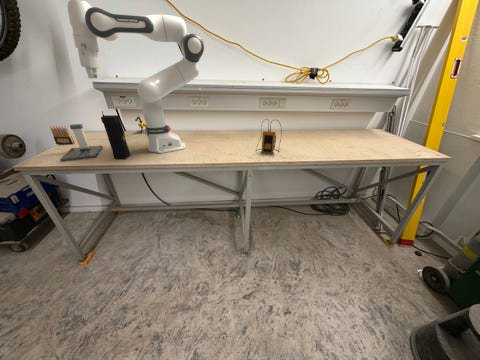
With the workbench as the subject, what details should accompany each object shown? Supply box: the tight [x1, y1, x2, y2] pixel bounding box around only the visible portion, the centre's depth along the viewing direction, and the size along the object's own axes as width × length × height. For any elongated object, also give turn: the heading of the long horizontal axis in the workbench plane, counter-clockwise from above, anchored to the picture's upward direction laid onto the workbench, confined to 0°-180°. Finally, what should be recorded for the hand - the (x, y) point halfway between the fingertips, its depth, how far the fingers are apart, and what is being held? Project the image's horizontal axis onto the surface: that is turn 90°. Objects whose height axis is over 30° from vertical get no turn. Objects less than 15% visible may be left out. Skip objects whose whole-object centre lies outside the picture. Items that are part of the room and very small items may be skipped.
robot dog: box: [134, 115, 146, 134], centre depth 151 cm, size 6×18×13 cm, turn 176°
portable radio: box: [100, 111, 131, 160], centre depth 105 cm, size 8×6×25 cm
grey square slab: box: [59, 144, 104, 163], centre depth 114 cm, size 16×18×2 cm
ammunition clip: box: [49, 125, 75, 146], centre depth 126 cm, size 11×2×12 cm, turn 91°
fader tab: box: [69, 123, 92, 150], centre depth 114 cm, size 5×4×14 cm
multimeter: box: [255, 118, 283, 154], centre depth 118 cm, size 15×10×20 cm
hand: (93, 78), depth 97 cm, fingers open, 8 cm apart
